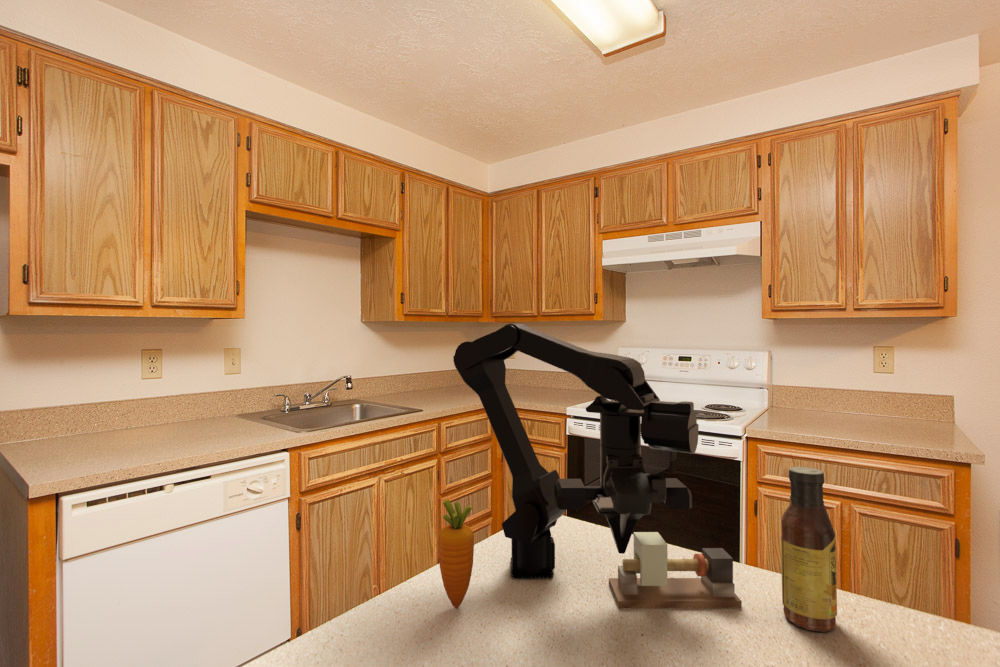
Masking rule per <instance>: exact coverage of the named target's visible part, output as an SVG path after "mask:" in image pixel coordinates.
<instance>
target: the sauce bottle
mask: <svg viewBox="0 0 1000 667" xmlns="http://www.w3.org/2000/svg"><path fill="white" fill-rule="evenodd" d="M788 479H789V483H790V496H789V500H790V503H789V505H788V507H787V508H786V509H785V510H784V511H783V514H782V516H781V536H780V555H781V556H780V559H781V560H780V561H781V562H780V564H781V602H782V605H783V607H782V609H783V614H784V617H785V618H786V619H787V620H788V621H789V622H791V623H793V624H794V625H795V626H798V627H800V628H802V629H805V630H808V631H813V632H821V633H824V632H825V633H826V632H829V631H832V630H834V628H835V627H836V623H837V621H836V618H837V616H838V598H837V597H838V594H837V581H838V580H837V550H836V549H837V546H836V543H837V542H836V539H837V538H836V532H835V529H834V528H833V524H832V522H831V518H830V517H829V513H828V511H827V509H826V506H825V501H824V487H823V485H824V483H825V482H826V481H825V474H824V472H823V470H821V469H819V468H818V469H817V468H813V467H807V466H792V467H789V468H788Z"/></svg>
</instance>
